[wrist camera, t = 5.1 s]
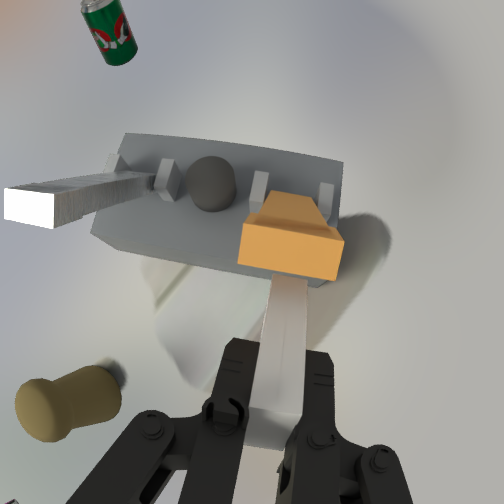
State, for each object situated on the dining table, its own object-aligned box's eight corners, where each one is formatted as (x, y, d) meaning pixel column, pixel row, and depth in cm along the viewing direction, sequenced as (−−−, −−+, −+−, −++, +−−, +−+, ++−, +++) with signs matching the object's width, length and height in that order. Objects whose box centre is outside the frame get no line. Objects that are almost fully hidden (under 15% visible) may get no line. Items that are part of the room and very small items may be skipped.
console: (316, 287, 30) (339, 271, 21) (117, 249, 31) (74, 222, 23) (329, 190, 32) (351, 145, 24) (144, 162, 33) (115, 116, 25)
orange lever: (310, 214, 25) (335, 281, 12) (265, 206, 26) (237, 263, 12) (313, 196, 25) (344, 241, 11) (268, 187, 25) (243, 223, 11)
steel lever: (165, 191, 26) (53, 228, 12) (127, 186, 26) (4, 218, 12) (167, 173, 26) (53, 194, 12) (129, 169, 26) (4, 188, 12)
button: (231, 215, 25) (228, 204, 22) (186, 208, 25) (179, 196, 23) (240, 174, 25) (239, 159, 23) (197, 168, 26) (192, 153, 23)
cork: (68, 408, 27) (2, 429, 16) (76, 357, 29) (7, 362, 18) (117, 430, 27) (60, 465, 16) (126, 377, 28) (66, 395, 17)
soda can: (135, 41, 39) (112, -18, 27) (142, 57, 38) (117, -6, 26) (104, 55, 38) (77, -2, 27) (109, 73, 37) (78, 12, 26)
